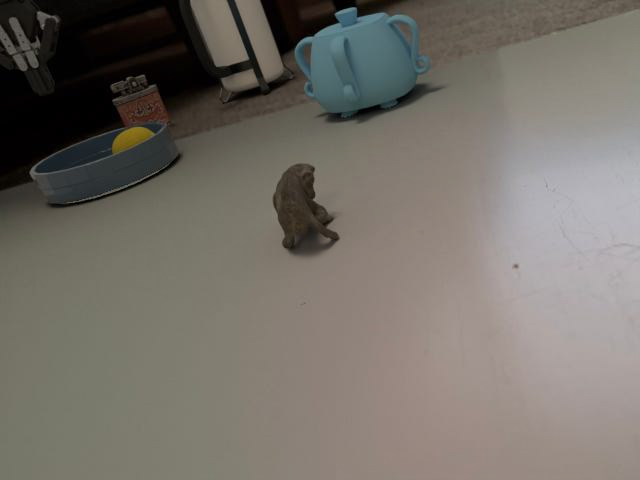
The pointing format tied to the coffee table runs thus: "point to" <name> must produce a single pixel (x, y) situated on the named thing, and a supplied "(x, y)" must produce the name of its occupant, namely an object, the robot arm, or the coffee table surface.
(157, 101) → the lighter
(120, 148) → the lemon
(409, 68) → the decorative pot
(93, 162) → the bowl
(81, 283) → the coffee table surface
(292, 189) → the brown furry figure
